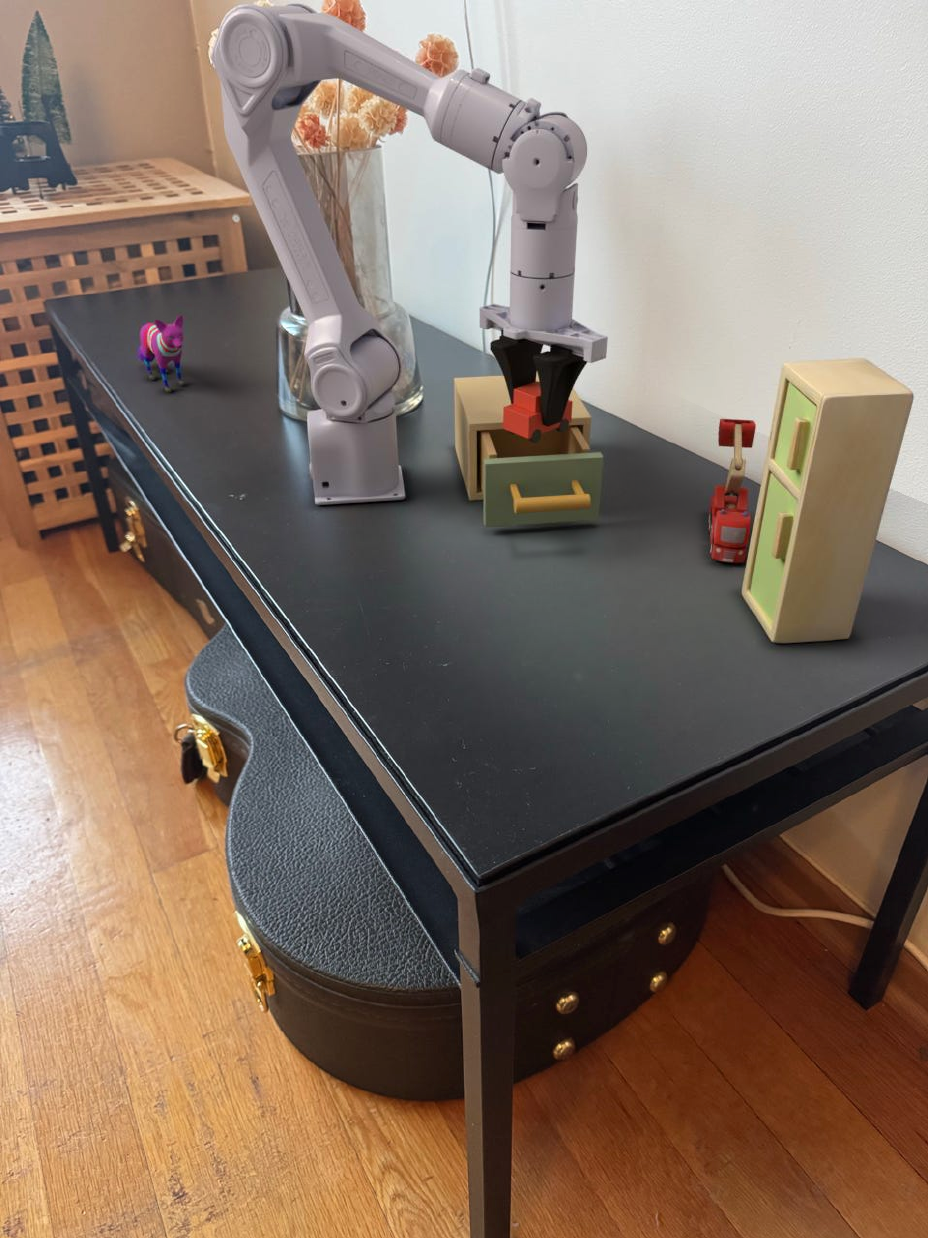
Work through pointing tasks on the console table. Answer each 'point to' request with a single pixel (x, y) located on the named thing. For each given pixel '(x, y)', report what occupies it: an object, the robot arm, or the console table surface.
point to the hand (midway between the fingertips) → (537, 416)
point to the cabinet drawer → (538, 478)
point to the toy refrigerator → (823, 496)
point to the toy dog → (162, 347)
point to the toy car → (531, 414)
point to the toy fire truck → (731, 512)
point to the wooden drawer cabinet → (491, 420)
